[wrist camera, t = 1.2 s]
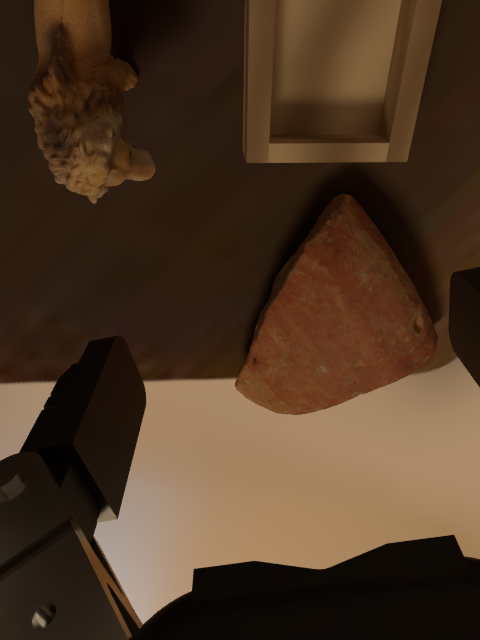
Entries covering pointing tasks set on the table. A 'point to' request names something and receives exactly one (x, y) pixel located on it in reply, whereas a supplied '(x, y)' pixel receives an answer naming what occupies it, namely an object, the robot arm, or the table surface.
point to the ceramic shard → (336, 319)
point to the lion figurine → (83, 99)
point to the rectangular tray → (334, 78)
